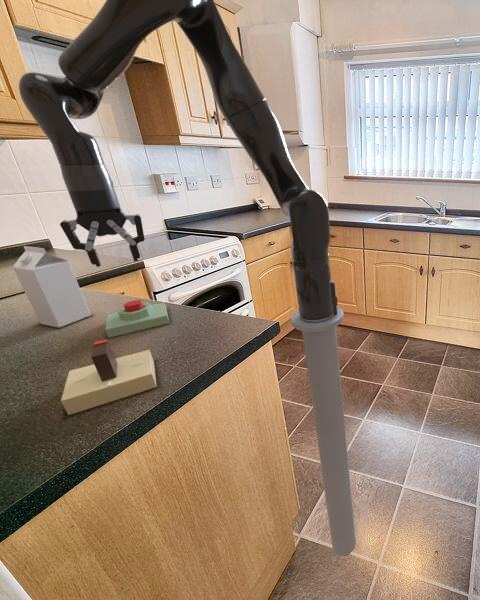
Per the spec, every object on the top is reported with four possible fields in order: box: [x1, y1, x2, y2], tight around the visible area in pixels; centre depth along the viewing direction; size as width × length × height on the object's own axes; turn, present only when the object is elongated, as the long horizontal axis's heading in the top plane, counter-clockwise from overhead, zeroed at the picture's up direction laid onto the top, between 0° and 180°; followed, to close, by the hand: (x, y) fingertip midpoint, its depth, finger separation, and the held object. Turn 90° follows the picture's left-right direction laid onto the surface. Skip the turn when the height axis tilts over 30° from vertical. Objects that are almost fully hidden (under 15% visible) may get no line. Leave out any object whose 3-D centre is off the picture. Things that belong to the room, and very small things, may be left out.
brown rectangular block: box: [90, 339, 117, 381], centre depth 59 cm, size 6×2×5 cm, turn 36°
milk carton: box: [12, 245, 92, 328], centre depth 82 cm, size 7×7×19 cm
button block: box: [104, 302, 170, 339], centre depth 83 cm, size 12×10×4 cm
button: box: [123, 299, 144, 312], centre depth 82 cm, size 4×4×2 cm
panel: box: [60, 349, 157, 416], centre depth 61 cm, size 12×10×3 cm
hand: (118, 262), depth 78 cm, fingers open, 6 cm apart
